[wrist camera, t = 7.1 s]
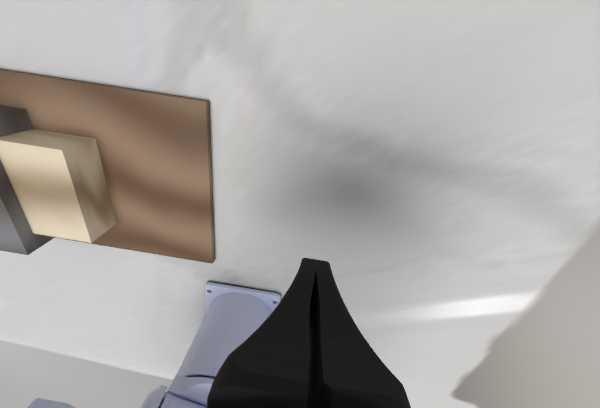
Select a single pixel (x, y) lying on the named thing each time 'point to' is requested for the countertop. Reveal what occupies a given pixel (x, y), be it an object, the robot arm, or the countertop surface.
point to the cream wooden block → (59, 183)
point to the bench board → (121, 161)
